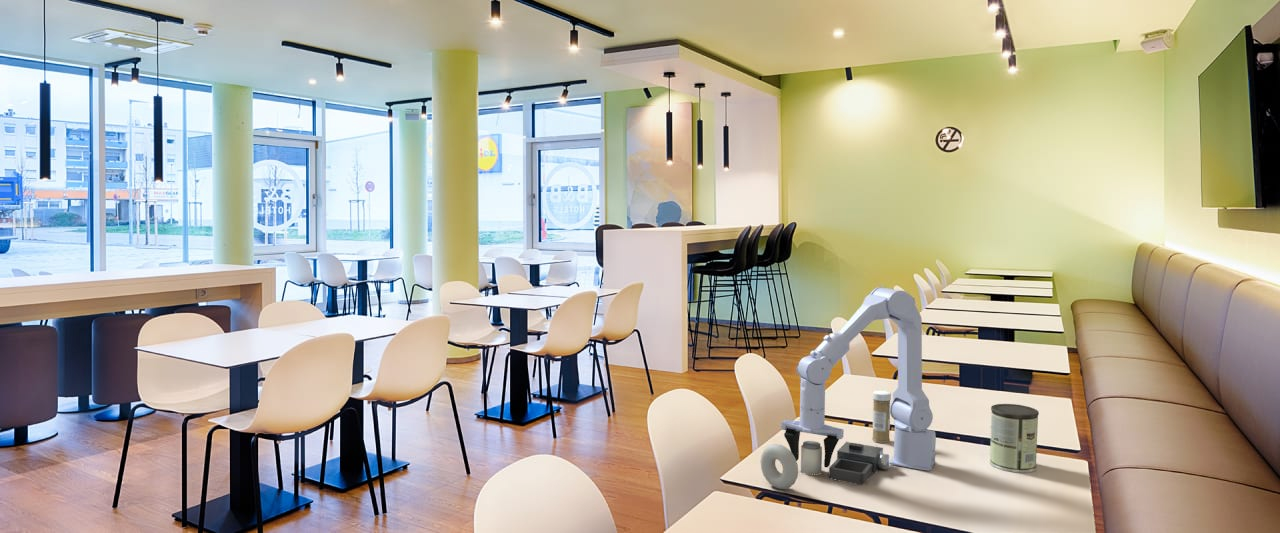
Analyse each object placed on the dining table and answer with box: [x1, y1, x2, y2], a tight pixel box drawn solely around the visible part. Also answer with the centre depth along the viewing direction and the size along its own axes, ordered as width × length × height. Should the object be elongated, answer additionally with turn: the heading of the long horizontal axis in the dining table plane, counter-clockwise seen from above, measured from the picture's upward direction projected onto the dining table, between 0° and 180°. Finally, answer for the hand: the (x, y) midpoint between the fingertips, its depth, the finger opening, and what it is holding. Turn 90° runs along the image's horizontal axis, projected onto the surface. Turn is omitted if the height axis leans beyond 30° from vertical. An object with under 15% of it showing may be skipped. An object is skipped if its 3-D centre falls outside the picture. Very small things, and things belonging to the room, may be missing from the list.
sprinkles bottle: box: [872, 390, 892, 444], centre depth 198 cm, size 5×5×14 cm
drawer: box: [836, 441, 890, 475], centre depth 179 cm, size 11×8×5 cm
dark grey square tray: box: [828, 458, 873, 485], centre depth 173 cm, size 8×9×2 cm
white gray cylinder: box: [800, 440, 823, 476], centre depth 176 cm, size 5×5×7 cm
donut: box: [760, 443, 799, 490], centre depth 165 cm, size 10×4×10 cm, turn 38°
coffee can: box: [989, 403, 1040, 474], centre depth 179 cm, size 10×10×14 cm
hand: (811, 463), depth 176 cm, fingers open, 7 cm apart
